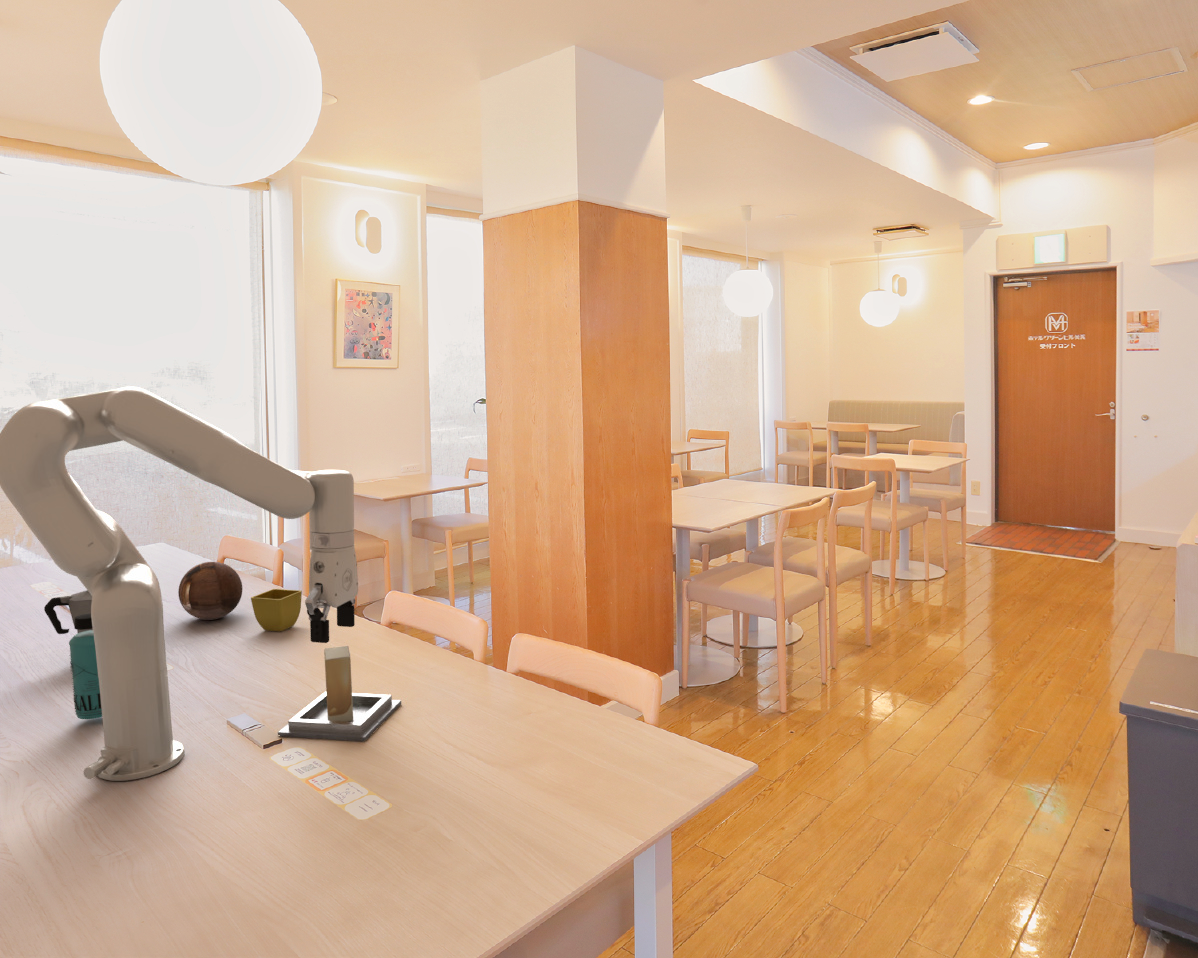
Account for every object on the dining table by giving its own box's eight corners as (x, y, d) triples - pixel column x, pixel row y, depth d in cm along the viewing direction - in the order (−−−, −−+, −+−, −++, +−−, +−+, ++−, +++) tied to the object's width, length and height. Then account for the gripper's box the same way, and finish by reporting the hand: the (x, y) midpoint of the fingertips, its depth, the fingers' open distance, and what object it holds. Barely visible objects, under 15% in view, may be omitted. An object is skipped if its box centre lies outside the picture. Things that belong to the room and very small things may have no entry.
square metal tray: (364, 741, 138) (364, 728, 137) (278, 736, 140) (277, 723, 140) (401, 704, 153) (400, 692, 153) (322, 700, 156) (322, 688, 155)
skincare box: (327, 711, 148) (323, 647, 147) (351, 707, 150) (348, 644, 148) (328, 725, 142) (324, 658, 141) (353, 721, 144) (350, 655, 142)
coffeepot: (127, 648, 187) (121, 573, 185) (135, 659, 180) (128, 580, 178) (48, 663, 177) (40, 584, 175) (52, 675, 170) (44, 593, 168)
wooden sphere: (234, 606, 220) (231, 553, 219) (251, 619, 209) (247, 562, 207) (174, 617, 211) (170, 561, 209) (188, 631, 200) (184, 572, 198)
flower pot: (251, 632, 198) (249, 597, 197) (275, 622, 206) (273, 588, 205) (281, 635, 195) (279, 599, 194) (304, 624, 204) (302, 590, 203)
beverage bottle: (109, 709, 152) (99, 607, 150) (123, 719, 148) (113, 613, 145) (70, 721, 147) (59, 615, 145) (83, 731, 143) (73, 622, 140)
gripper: (328, 550, 133) (329, 650, 135) (372, 532, 150) (373, 621, 152) (286, 547, 134) (288, 647, 136) (335, 530, 151) (336, 619, 153)
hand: (333, 633), depth 144 cm, fingers open, 9 cm apart
